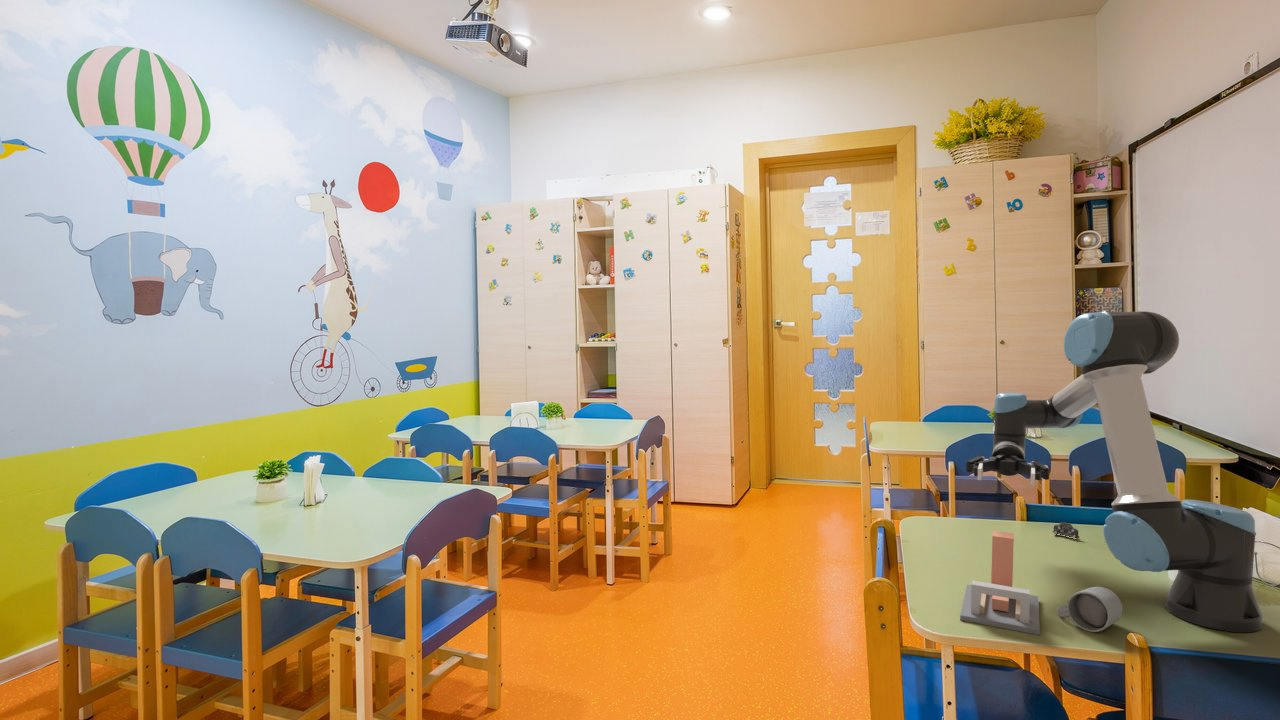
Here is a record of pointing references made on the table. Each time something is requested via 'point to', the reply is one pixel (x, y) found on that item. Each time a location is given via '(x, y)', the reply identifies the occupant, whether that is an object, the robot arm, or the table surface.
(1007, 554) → the clip bar
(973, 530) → the table surface
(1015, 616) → the mount
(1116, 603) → the ceramic mug
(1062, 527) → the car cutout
